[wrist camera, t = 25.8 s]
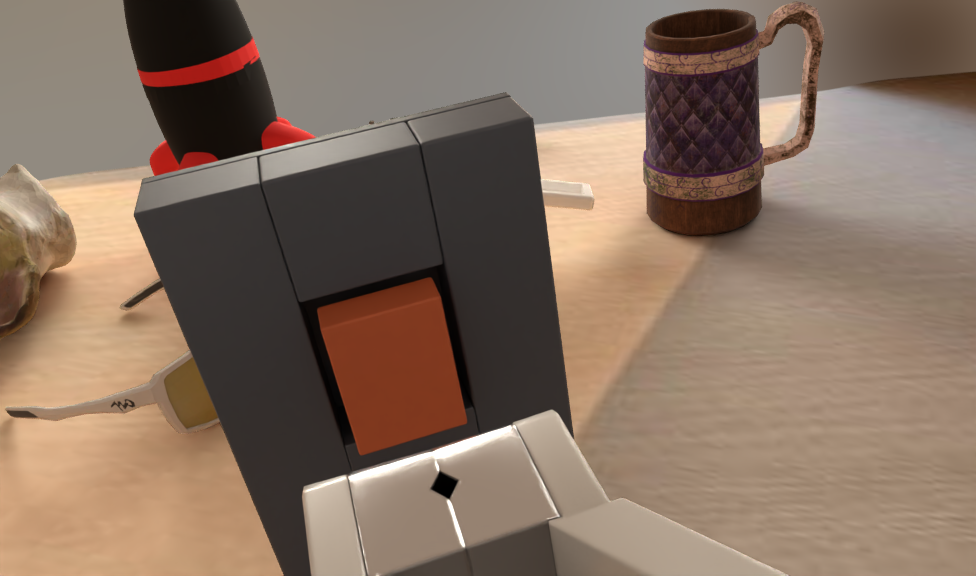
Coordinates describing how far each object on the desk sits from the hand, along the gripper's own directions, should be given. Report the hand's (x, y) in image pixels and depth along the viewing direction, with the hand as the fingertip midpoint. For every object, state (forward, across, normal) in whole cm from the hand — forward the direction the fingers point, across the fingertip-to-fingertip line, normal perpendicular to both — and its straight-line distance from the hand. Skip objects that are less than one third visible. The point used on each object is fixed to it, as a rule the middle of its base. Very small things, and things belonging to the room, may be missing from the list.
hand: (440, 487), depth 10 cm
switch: (+12, 0, -8) cm, 14 cm away
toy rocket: (+48, -5, -18) cm, 52 cm away
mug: (+34, +23, -18) cm, 45 cm away
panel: (+12, 0, -17) cm, 21 cm away
